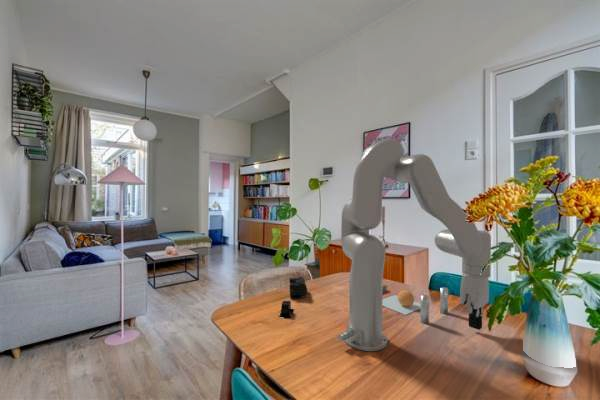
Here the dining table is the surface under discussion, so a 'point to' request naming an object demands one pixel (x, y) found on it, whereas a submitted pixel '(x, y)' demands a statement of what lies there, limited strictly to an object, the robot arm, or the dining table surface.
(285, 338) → the dining table surface
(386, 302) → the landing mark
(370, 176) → the robot arm
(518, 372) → the dining table surface
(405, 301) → the ball
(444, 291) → the right post
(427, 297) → the left post
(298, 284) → the end cap
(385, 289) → the stopper wall
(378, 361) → the dining table surface
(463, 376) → the dining table surface
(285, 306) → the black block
